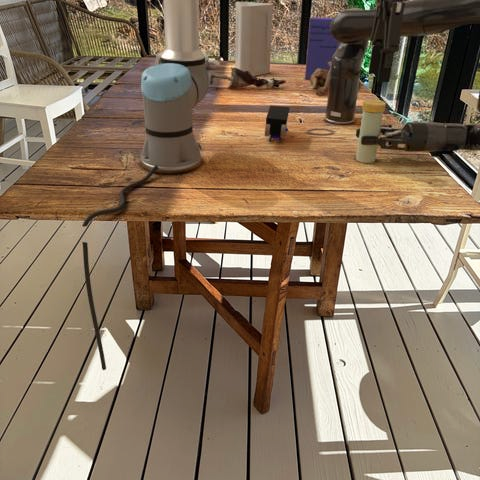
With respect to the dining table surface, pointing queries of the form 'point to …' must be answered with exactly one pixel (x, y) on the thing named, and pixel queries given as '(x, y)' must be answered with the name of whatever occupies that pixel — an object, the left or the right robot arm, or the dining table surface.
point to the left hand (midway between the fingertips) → (378, 77)
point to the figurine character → (276, 122)
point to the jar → (368, 128)
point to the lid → (374, 106)
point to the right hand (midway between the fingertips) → (359, 136)
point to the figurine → (246, 79)
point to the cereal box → (319, 45)
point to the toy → (205, 60)
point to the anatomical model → (321, 80)
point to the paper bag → (253, 37)
